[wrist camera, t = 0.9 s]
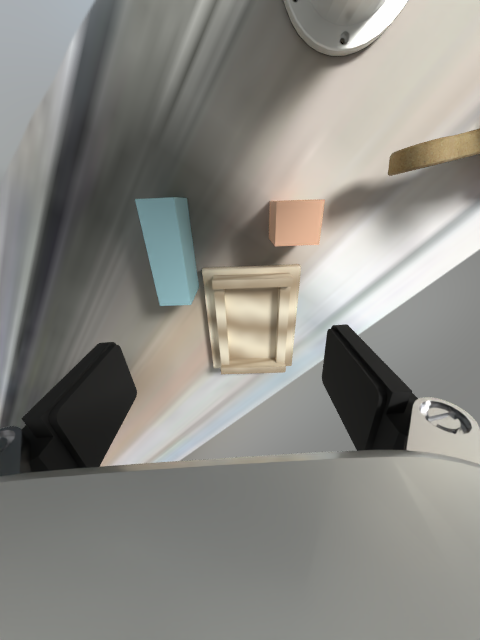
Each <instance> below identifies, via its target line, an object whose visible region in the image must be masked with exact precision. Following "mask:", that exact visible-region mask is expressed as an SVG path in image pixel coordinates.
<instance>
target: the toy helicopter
mask: <svg viewBox="0 0 480 640" xmlns="http://www.w3.org/2000/svg"><path fill="white" fill-rule="evenodd" d="M477 154H480V129H477V130H473V131H470V132H466V133H462V134H458V135H454V136H448V137H443V138H439V139H435V140H431V141H427V142H424V143H420V144H417V145H414V146H410V147H407V148H404V149H401V150H399V151H396V152H394V153H392V154H391V156H390V160H389V170H388V175H389V176H392V175H396V174H400V173H404V172H408V171H412V170H416V169H420V168H425V167H429V166H433V165H437V164H441V163H445V162H449V161H453V160H457V159H461V158H465V157H469V156H473V155H477Z"/></svg>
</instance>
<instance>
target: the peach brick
mask: <svg viewBox="0 0 480 640" xmlns="http://www.w3.org/2000/svg"><path fill="white" fill-rule="evenodd" d="M324 203H325V200H288V201H270V207H269V239H270V241H271V242H272V243H273V244H274V246H297V245H319V241H320V233H321V226H322V218H323V210H324Z"/></svg>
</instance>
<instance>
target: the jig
mask: <svg viewBox="0 0 480 640" xmlns="http://www.w3.org/2000/svg"><path fill="white" fill-rule="evenodd" d="M300 272H301V266H300V265H299V264H294V265H268V266H241V267H214V268H203V269H202V275H203V283H204V291H205V300H206V308H207V316H208V325H209V333H210V341H211V349H212V358H213V366H214V368H221V374H246V373H278V372H285V370H286V366H291V364H292V354H293V344H294V333H295V323H296V313H297V303H298V292H299V282H300Z"/></svg>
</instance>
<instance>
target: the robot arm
mask: <svg viewBox="0 0 480 640" xmlns="http://www.w3.org/2000/svg"><path fill="white" fill-rule="evenodd" d="M296 1H297V2H294V1H293V0H284V4H285V7H286V10H287V12H288V15H289V18H290V20H291V22H292V24H293V26H294V27H295V29H296V31H297V32H298V34H299V35H300V37H301V38H302V39H303V40H304V41H305V42H306V43H307V44H308V45H309V46H310V47H312V48H314V49H315V50H317V51H318V52H320V53H324V54H327V55H330V56H344V55H348V54H352V53H355V52H357V51H359V50H361V49H363V48H365V47H367V46H368V45H369V44H371V43H372V42H373V41H375V40H376V39H377V38H378V37H380V36H381V34H382V33H383V32H384V31H385V30H386V29H387V28H388V27H389V26H390V25H391V24H392V22H393V21H394V20H395V19H396V17H397V16H398V15H399V14H400V12H401V11H402V10H403V8H404V7H405V5H406V3H407V2H408V0H296ZM340 41H342V42H343V45H342V44H341V43H340ZM322 381H323V384H324V386H325V388H326V390H327V392H328V394H329V396H330V398H331V400H332V402H333V404H334V406H335V408H336V409H337V412H338V414H339V416H340V418H341V420H342V422H343V424H344V426H345V428H346V429H347V432H348V434H349V436H350V438H351V440H352V441H353V443H354V445H355V447H356V449H357V451H337V452H317V453H300V454H284V455H267V456H252V457H235V458H220V459H205V460H190V461H174V462H160V463H145V464H131V465H117V466H104V467H99V466H100V464H101V462H102V461H103V459H104V457H105V455H106V453H107V451H108V449H109V447H110V445H111V444H112V442H113V440H114V438H115V436H116V434H117V432H118V430H119V428H120V427H121V425H122V423H123V421H124V419H125V417H126V415H127V413H128V411H129V410H130V408H131V406H132V404H133V402H134V400H135V398H136V395H137V390H136V387H135V384H134V382H133V379H132V377H131V374H130V371H129V369H128V366H127V364H126V361H125V358H124V356H123V353H122V350H121V348H120V346H119V345H116V344H115V343H114V342H107V343H99V344H97V345H96V346H95V347H94V348H93V349H92V350H91V351H90V352H89V353H88V354H87V355H86V356H85V357H84V358H83V359H82V360H81V361H80V362H79V363H78V364H77V365H76V366H75V367H74V368H73V369H72V370H71V371H70V372H69V373H68V374H67V375H66V376H65V377H64V378H63V379H62V380H61V381H60V382H59V383H58V384H56V385H55V386H54V387H53V388H52V389H51V390H50V391H49V392H48V393H47V394H46V395H45V396H44V397H43V398H42V399H41V400H40V401H39V402H38V403H37V404H36V405H35V406H34V407H33V408H32V409H31V410H30V411H29V412H28V413H27V414H26V415H25V416H24V417H23V418H22V420H23V421H24V422H25V424H26V426H25V427H24V428H23V429H21V428H19V427H17V426H9V427H4V428H1V429H0V640H480V428H479V426H478V424H477V422H476V421H475V420H474V419H473V417H472V416H471V415H469V414H468V413H467V412H466V411H464V410H463V409H461V408H460V407H458V406H456V405H454V404H452V403H450V402H447V401H445V400H441V399H437V398H431V397H424V398H419V399H418V398H417V397H416V396H415V395H414V394H413V393H412V390H410V389H409V387H408V386H407V385H406V384H405V383H404V382H403V381H401V379H400V378H399V377H398V376H397V375H396V374H395V373H394V372H393V371H392V370H391V369H390V368H389V367H388V366H387V365H386V364H385V363H384V362H383V361H382V360H381V359H380V358H379V357H378V356H377V355H376V354H375V353H374V352H373V351H372V349H371V348H370V347H369V346H368V345H367V344H366V343H365V342H364V341H363V340H362V339H361V338H360V337H359V336H358V335H357V334H356V333H355V332H354V331H353V330H352V329H351V328H350V327H349V326H348V325H333V326H332V328H331V329H328V331H327V338H326V347H325V355H324V364H323V372H322Z"/></svg>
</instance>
